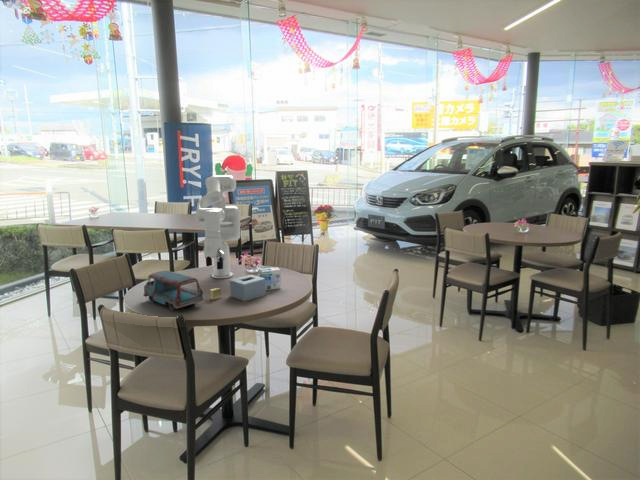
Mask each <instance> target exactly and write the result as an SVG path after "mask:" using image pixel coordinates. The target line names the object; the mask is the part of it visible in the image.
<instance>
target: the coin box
mask: <svg viewBox="0 0 640 480" xmlns="http://www.w3.org/2000/svg"><path fill="white" fill-rule="evenodd" d="M266 292H267V290H266V286H265V278H262V277H260V276H257V275H255V274H247V275H243V276H240V277H235V278H231V279H229V293H230V295H229V296H230V297H231V298H234V299H237V300H240V301H242V302H248V301H250V300H255V299H257V298H261V297H264V296H266V294H267V293H266Z"/></svg>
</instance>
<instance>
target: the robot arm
mask: <svg viewBox="0 0 640 480" xmlns="http://www.w3.org/2000/svg"><path fill="white" fill-rule="evenodd" d="M204 184H205V187H206V194H205V195H203V196H202V197H201V198H200V199H199V200H198V202H197V205H196V212H195V216H196V220H197V222H199V223H203V224H204V235H205V236H204V242H203V245H204V246H203V250H202V251H203V254H204V258H205V264H206V265H205V266H206V267H210V266H213V268H211V271H212V272H213V273H211V277H212V278H214V279H227V278H232V277H233V276H234V272H232V271H231V263H230V262H231V260H230V247H229V245H228V243H227V242H226V241H237V240H240V238H241V233H242V232H241V217H240V216H241V215H240V214H241V213H240V209H239V208H238V206H235V205H227V197H226V195H225V194H224V192H235V190H236V189H237V180H236V178H235V177H234V176H233V175H229V174H217V175H211V176H210V177H207V178H206V179H205V183H204ZM210 206H211V207H210ZM222 223H223V224H222ZM226 223H227V224H226ZM228 223H229V224H228ZM230 223H231V224H230ZM212 259H213V260H212Z"/></svg>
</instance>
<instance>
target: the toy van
mask: <svg viewBox="0 0 640 480" xmlns="http://www.w3.org/2000/svg"><path fill="white" fill-rule="evenodd" d="M151 279H153V280H152V281H151ZM192 283H195V284H196V287H197V291H196V290H192V289H191V290H190V289H188V288H185V287H183V286H185V285H188V284H189V285H190V284H192ZM143 290H144V291H143V297H145V298H147V297H148V300H149V302H150V303H156V302H157V303H158V304H159V303H160V304H161V305H165V306H166V305H168V308H169V310H171V311H176V310H177V309H182V308H184V307H188V306H190V305H194V304H197V303H200V302H202V301H205V298H204V297H203V294H204V291H203V290H202V288H201V286H200V284H199V279H197V278H195V277H191V276H189V275H185V274H182V273H179V272H174V271H170V270H160V271H156V272H153V273H151V274H149V275H148V276H147V282H146V283H145V285H143Z"/></svg>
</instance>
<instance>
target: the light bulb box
mask: <svg viewBox="0 0 640 480" xmlns="http://www.w3.org/2000/svg"><path fill="white" fill-rule="evenodd" d="M259 277H262V278H265V286H266V291H268V290H270V291H271V290H276V289H281V284H282V283H281V279H282V278H281V269H280V268H279V267H277V266H274V267H266V268H265V267H264V268H259Z"/></svg>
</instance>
